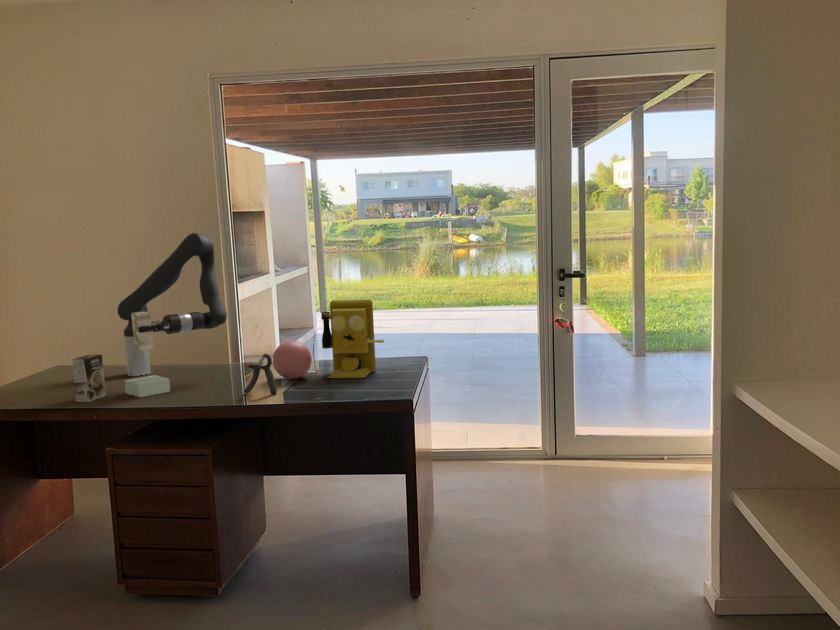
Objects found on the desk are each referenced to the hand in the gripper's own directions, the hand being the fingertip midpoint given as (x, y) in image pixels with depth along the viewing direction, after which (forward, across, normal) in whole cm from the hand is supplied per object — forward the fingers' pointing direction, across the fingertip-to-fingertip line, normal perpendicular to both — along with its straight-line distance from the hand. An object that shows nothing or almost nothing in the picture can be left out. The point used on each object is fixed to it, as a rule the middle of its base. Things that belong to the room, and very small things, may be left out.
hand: (135, 329), depth 263 cm
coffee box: (+16, -8, +25) cm, 30 cm away
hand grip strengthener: (-26, +40, +25) cm, 54 cm away
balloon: (-51, +27, +25) cm, 63 cm away
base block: (-2, 0, +25) cm, 25 cm away
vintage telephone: (-66, +42, +26) cm, 83 cm away
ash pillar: (-3, 0, +8) cm, 8 cm away
